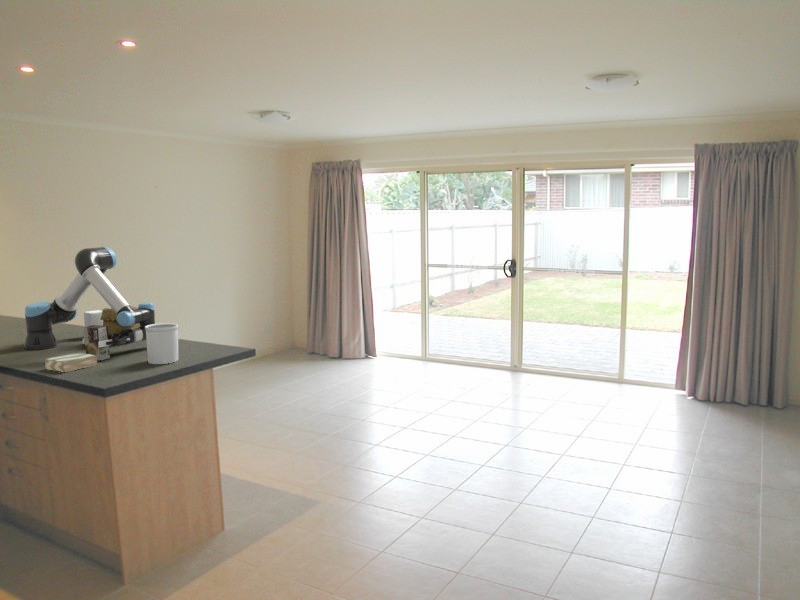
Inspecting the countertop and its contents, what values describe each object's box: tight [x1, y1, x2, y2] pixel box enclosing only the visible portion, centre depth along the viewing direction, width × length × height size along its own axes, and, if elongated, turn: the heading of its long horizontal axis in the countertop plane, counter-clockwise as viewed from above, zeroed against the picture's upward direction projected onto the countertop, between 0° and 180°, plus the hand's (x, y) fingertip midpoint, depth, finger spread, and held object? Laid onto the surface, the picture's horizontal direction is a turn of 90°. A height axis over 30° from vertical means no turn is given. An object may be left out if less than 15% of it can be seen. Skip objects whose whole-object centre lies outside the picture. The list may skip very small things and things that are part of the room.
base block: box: [44, 351, 98, 372], centre depth 281 cm, size 14×16×5 cm
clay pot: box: [100, 305, 140, 334], centre depth 337 cm, size 21×21×20 cm
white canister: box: [83, 309, 103, 327], centre depth 349 cm, size 9×9×15 cm
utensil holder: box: [145, 322, 179, 365], centre depth 293 cm, size 15×15×18 cm
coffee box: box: [83, 325, 111, 361], centre depth 297 cm, size 9×6×16 cm
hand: (90, 342), depth 295 cm, fingers open, 13 cm apart
